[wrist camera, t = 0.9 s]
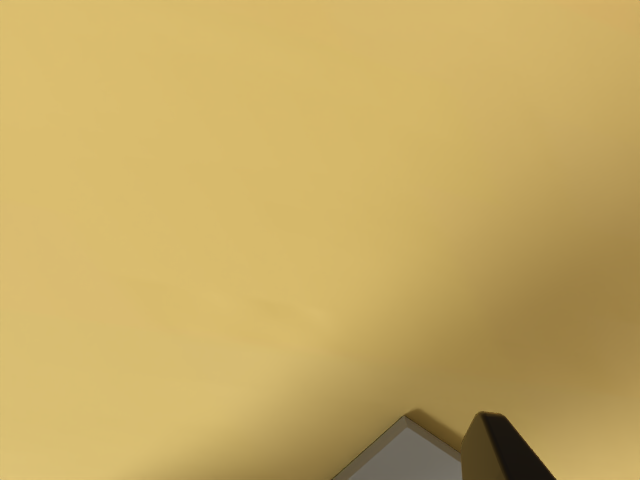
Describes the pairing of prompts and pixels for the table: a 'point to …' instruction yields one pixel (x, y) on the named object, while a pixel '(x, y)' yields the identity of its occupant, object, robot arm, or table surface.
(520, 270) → the table surface
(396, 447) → the slate mat
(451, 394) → the table surface
